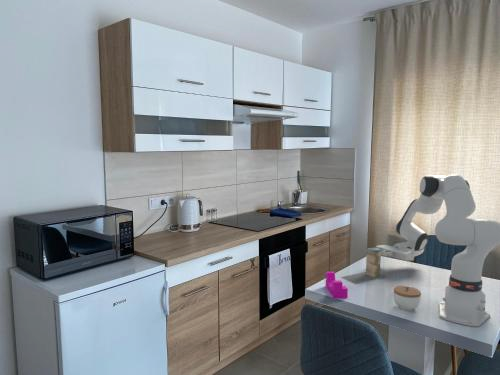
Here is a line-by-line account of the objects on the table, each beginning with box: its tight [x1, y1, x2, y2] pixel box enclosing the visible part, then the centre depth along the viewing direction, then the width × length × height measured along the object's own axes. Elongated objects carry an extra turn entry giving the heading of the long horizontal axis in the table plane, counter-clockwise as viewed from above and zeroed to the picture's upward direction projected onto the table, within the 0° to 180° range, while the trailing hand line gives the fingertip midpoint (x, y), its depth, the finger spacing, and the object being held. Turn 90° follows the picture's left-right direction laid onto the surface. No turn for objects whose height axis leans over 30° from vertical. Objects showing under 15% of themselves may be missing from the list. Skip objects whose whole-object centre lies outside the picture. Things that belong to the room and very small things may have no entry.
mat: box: [340, 271, 387, 285], centre depth 198 cm, size 22×11×1 cm, turn 120°
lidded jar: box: [393, 285, 422, 312], centre depth 161 cm, size 11×11×9 cm
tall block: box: [365, 247, 382, 277], centre depth 201 cm, size 5×5×14 cm
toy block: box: [325, 271, 349, 299], centre depth 178 cm, size 15×6×8 cm, turn 2°
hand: (383, 254), depth 204 cm, fingers closed
